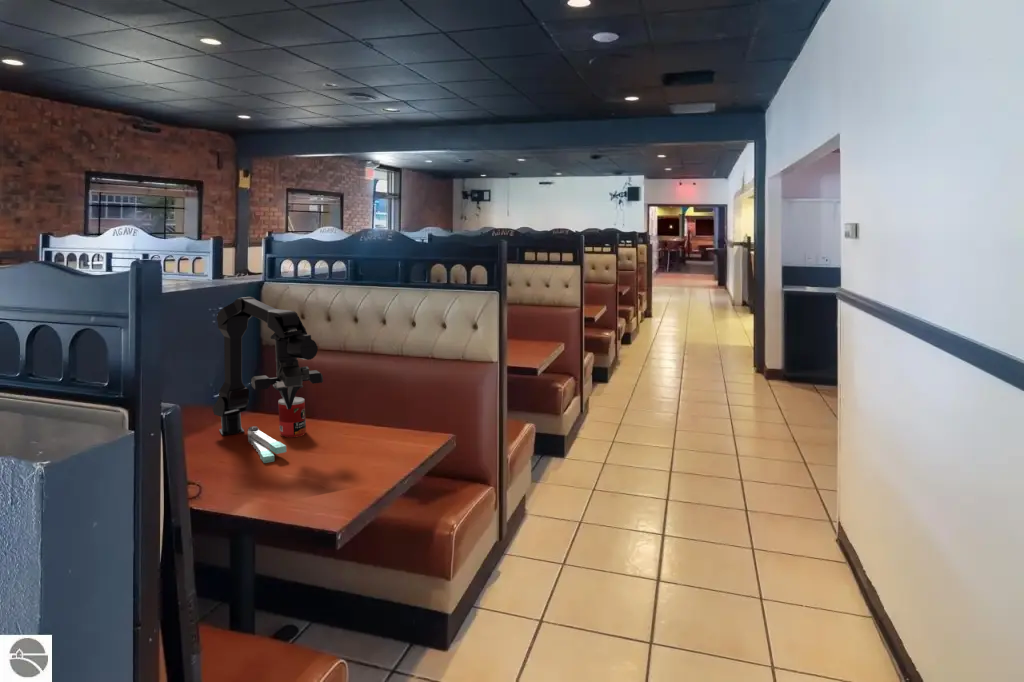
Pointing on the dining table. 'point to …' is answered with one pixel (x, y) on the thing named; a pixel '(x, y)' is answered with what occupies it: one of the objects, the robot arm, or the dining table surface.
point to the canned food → (292, 418)
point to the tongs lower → (262, 451)
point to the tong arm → (266, 440)
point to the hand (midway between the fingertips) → (289, 408)
